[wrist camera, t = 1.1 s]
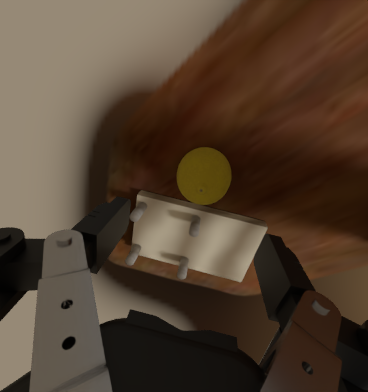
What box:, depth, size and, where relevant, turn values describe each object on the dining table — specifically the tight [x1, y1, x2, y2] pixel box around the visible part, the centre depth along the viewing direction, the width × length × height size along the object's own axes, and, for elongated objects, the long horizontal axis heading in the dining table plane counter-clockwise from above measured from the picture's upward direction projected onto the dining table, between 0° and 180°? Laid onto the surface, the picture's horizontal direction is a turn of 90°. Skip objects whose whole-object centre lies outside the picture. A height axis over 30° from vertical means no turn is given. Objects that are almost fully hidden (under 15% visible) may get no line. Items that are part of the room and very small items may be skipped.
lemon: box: [177, 147, 232, 205], centre depth 20 cm, size 6×6×8 cm
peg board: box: [125, 190, 268, 282], centre depth 26 cm, size 17×10×4 cm, turn 78°
